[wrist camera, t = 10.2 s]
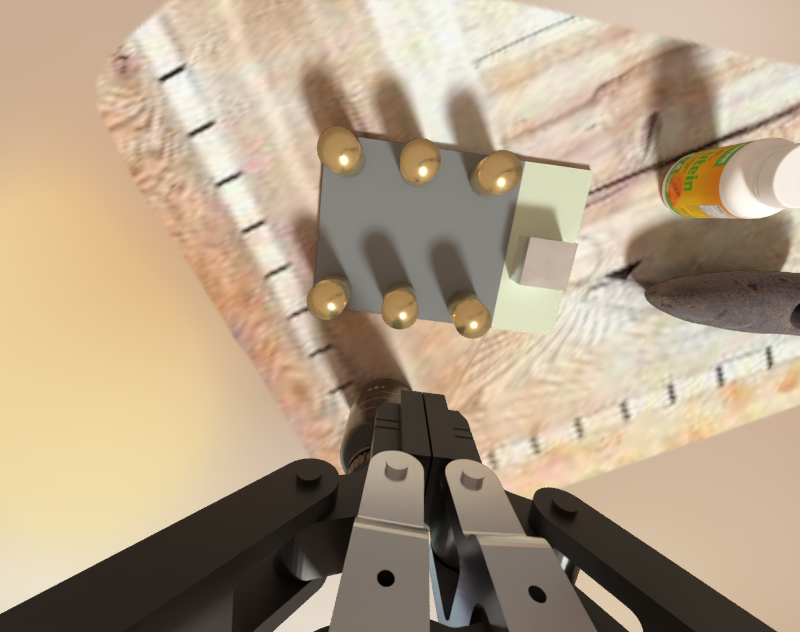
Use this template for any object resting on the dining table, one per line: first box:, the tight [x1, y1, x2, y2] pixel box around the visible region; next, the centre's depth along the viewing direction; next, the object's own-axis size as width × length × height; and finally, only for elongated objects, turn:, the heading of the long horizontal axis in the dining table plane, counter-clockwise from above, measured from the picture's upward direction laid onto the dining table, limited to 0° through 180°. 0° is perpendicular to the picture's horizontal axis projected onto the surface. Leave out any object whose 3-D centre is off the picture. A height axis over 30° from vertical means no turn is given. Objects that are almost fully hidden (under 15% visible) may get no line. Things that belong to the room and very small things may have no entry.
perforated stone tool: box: [645, 271, 800, 336], centre depth 32 cm, size 15×5×7 cm, turn 86°
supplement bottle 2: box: [662, 138, 800, 219], centre depth 28 cm, size 5×5×10 cm
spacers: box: [307, 126, 522, 338], centre depth 31 cm, size 15×14×5 cm
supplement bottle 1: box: [340, 379, 410, 474], centre depth 33 cm, size 7×7×12 cm
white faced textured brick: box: [510, 235, 578, 291], centre depth 32 cm, size 4×4×3 cm
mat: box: [315, 137, 594, 336], centre depth 34 cm, size 23×15×1 cm, turn 82°
